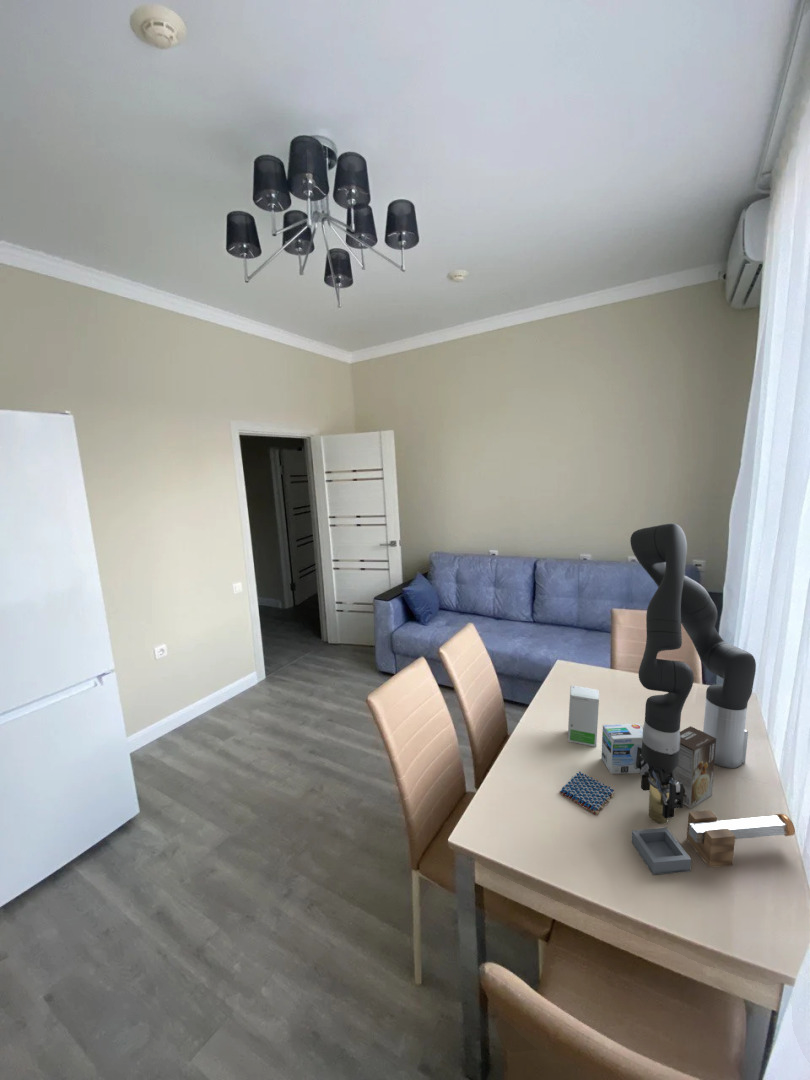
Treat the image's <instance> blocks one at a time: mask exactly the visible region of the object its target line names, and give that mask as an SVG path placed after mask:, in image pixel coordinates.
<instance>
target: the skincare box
mask: <svg viewBox="0 0 810 1080" xmlns="http://www.w3.org/2000/svg"><path fill="white" fill-rule="evenodd" d="M569 687H570V688H569V702H568V704H569V707H568V709H569V710H568V725H567V726H568V727H567V728H568V729H567V741H568V742H570V743H575V744H580V745H586V746H589V747H590V746H591V747H595V748H596V747H597V741H598V726H599V725H598V723H599V722H598V721H599V706H600V691H599V689H595V688H589V687H586V686H577V685H573V684H572V685H570V686H569Z"/></svg>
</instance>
